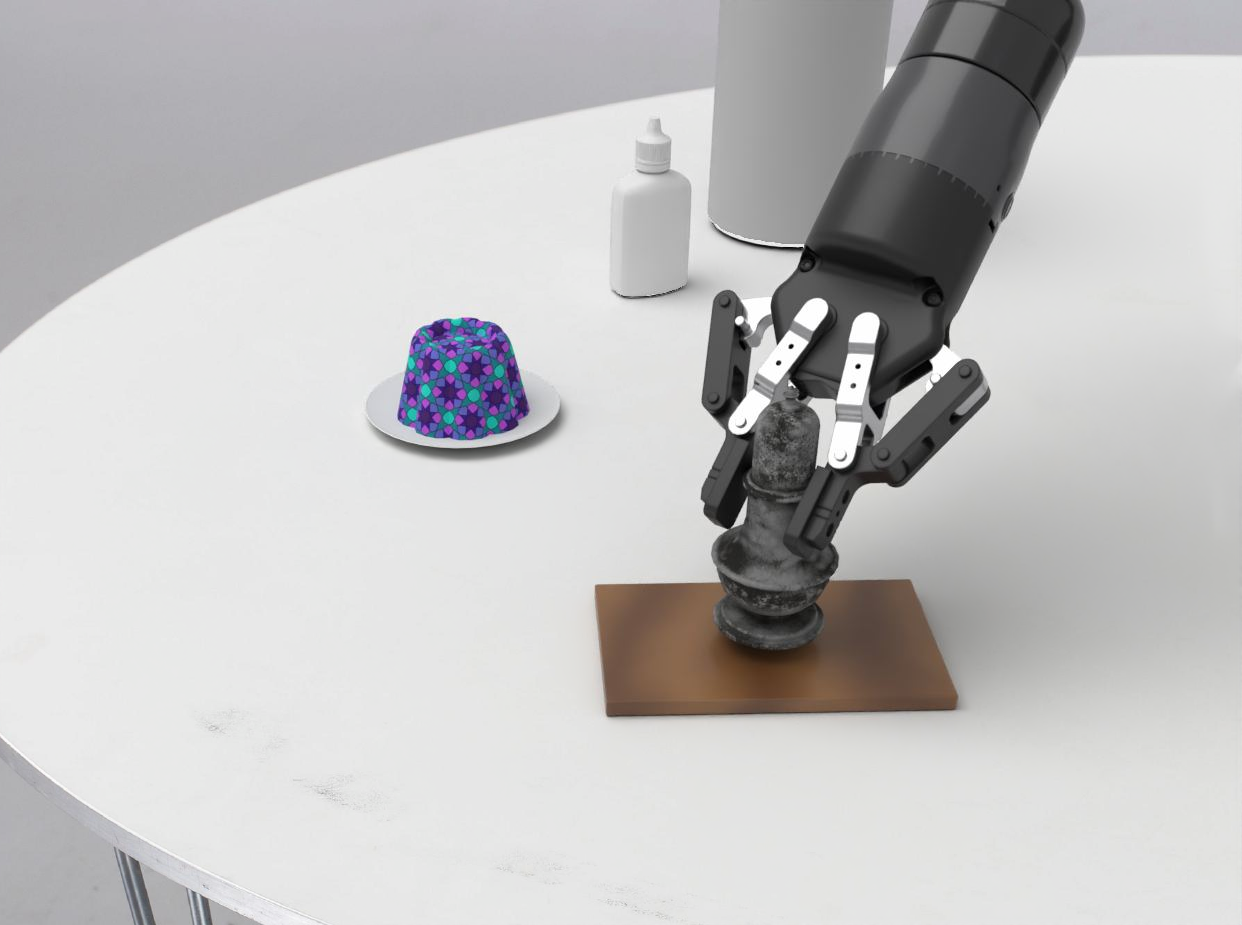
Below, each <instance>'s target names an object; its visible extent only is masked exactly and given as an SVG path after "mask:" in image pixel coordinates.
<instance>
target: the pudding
mask: <svg viewBox="0 0 1242 925" xmlns="http://www.w3.org/2000/svg"><path fill="white" fill-rule="evenodd" d="M560 407H561V398H560V395H559V393H558V391H557V390H556V388H555V387H554V385H552V384H551V383H550V382H549V381H548V380H545V379H544V378H542V377H541V376H540V375H537V374H535V373H532V372H531V371H528V370H525V369H522V368H519V366H518V363H517V358H516V355H515V351H514V347H513V344H512V342H511V340H510V337H509V336H508V334H507V333H505V331H504V330H503V328H502V327H501V326H500V325H499V324H497V323H495V322H493V321H489V320H488V321H485V320H480V319H479V318H476V317H471V316H463V317H462V316H461V317H459V318H449V317H447V318H441V319H437V320H434V321H433V322H432V323H431V324H427V325H423V326H421V327H420V328H418V329H417V330H416V331H415V332H414V334H413V336H412V337H411V341H410V345H409V351H408V356H407V362H406V367H405V371H402V372H399V373H397V374H395V375H392V376H390V377H388V378H387V379H385V380H383V381H381V382H380V383H378V384H377V385H376V386H375V387H374V388H373V389H372V390H371V391H370V392H369V393H368V395H367V397H366V399H365V401H364V412H365V415H366V418H367V419H368V421H369V422H370V423H371V424H372V425H373V426H374V427H375V428H377V429H378V430H379V431H381V432H382V433H384V434H386V435H388V436H391V437H392V438H395V439H398V440H401V441H403V442H406V443H410V444H415V445H419V446H425V447H431V448H433V447H434V448H445V449H470V448H471V449H474V448H475V449H476V448H482V447H490V446H491V447H493V446H496V445H502V444H505V443H506V444H507V443H510V442H514V441H516V440H520V439H523V438H525V437H527V436H530V435H532V434H534V433H536V432H538V431H540V430H542V429H543V428H544V427H546V426H548V424H550V423H551V422H552V421H553V420H554V419H555V418H556V416H557V415H558V413H559V411H560Z"/></svg>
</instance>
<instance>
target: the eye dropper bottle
mask: <svg viewBox="0 0 1242 925" xmlns="http://www.w3.org/2000/svg"><path fill="white" fill-rule="evenodd" d="M647 121H648V122H647V125H646V126H647V127H646V130H645V132H644V133H642V134H638V136H637V137H635V151H634V152H635V155H634V156H635V157H634V168H635V170H632V171H631V172H628V173H627V174H625V175H623V176H622V177H621V178H619V179H618V180H617V181H616V182H615V184H614V185H613V186H612V189H611V197H610V199H611V200H610V201H611V202H610V224H609V228H610V229H609V266H608V268H609V270H608V284H609V287H610V289H612V290H613V291H614V292H615V291H616V292H615V293H616V294H618V295H619V294H620V295H619V296H621V295H623V296H647V295H652V294H654V295H655V294H661V293H664V292H669V291H672V290H675V291H677V290H679V289H678V288H679V287H681V288H683V287H685V285H686V284H687V282H688V275H689V274H688V273H689V258H690V257H689V255H690V236H691V219H692V218H691V216H692V192H693V191H692V184H691V182H690V180H689V178H688V177H686V176H685V175H684V174H682V173H681V172H679V171H677V170H674V169H670V168H671V159H672V158H671V157H672V137H670V136H669V135H668V134H665V133H664V132H663V131H662V125H661V118H660V116H658V115H651V116H649V118H648V120H647ZM682 286H683V287H682ZM676 289H677V290H676ZM672 292H673V291H672ZM669 293H670V292H669ZM661 295H662V294H661ZM623 296H622V297H623Z"/></svg>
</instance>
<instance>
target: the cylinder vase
mask: <svg viewBox="0 0 1242 925" xmlns="http://www.w3.org/2000/svg"><path fill="white" fill-rule="evenodd" d="M894 1H895V0H719V9H718V10H719V11H718V24H717V25H718V26H717V42H716V44H717V45H716V59H715V60H716V62H715V74H714V75H715V77H714V95H713V108H712V109H713V111H712V112H713V113H712V128H711V129H712V130H711V145H710V160H709V161H710V163H709V176H708V177H709V178H708V193H707V194H708V195H707V216H708V215H709V216H708V218H709V217H710V219H711V220H712V221H713V222H714V223H715V224H717V225H718V226H719V227H720V228H721V229H723V230H725V231H727V232H730V233H733V234H735V235H740V236H742V237H744V238H748V239H754V240H761V241H765V242H775V243H781V244H805V242H806V239H807V237H808V235H809V233H810V231H811V229H812V227H813V225H814V223H815V221H816V219H817V217H818V215H819V213H820V211H821V209H822V206H823V204H824V202H825V200H826V198H827V196H828V194H829V192H830V190H831V188H832V186H833V184H834V182H835V180H836V178H837V176H838V174H839V172H840V169H841V167H842V165H843V163H844V161H845V159H846V157H847V155H848V153H849V151H850V149H851V147H852V145H853V143H854V141H855V139H856V137H857V135H858V133H859V130H860V128H861V126H862V124H863V122H864V120H865V119H866V117H867V115H868V113H869V111H870V109H871V108H872V106H873V104H874V103H875V101H876V100H877V98H878V97H879V95H880V94H881V92H882V91H883V89H884V84H885V83H884V82H885V75H886V68H887V67H886V66H887V59H888V50H889V43H890V35H891V34H890V33H891V26H892V17H893V8H894ZM710 219H709V220H710Z"/></svg>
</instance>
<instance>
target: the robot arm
mask: <svg viewBox="0 0 1242 925" xmlns="http://www.w3.org/2000/svg"><path fill="white" fill-rule="evenodd" d="M1085 29H1086V13H1085V8H1084V4H1083V2H1082V0H928V1H927V3H926V5H925V7H924V10H923V12H922V14H921V15H920V18H919V20H918V22H917V23H916V26H915V28H914V30H913V32H912V34H911V36H910V38H909V39H908V40H909V41H908V42H907V44H906V46H905V49H904V50H903V53H902V55H901V57H900V59H899V61H898V62H897V65H896V67H895V69H894V71H893V73H892V75H891V76H890V79H889V80H888V82H887V83H886V85H885V86H884V87H883V91H882V92H881V94H880V95H879V97H878V98H877V100H876V101H875V103H874V104H873V106H872V108H871V109H870V111H869V113H868V115H867V117H866V119H865V120H864V122H863V124H862V126H861V128H860V130H859V133H858V135H857V137H856V139H855V141H854V143H853V145H852V147H851V149H850V151H849V153H848V155H847V157H846V159H845V161H844V163H843V165H842V167H841V169H840V172H839V174H838V176H837V178H836V180H835V182H834V184H833V186H832V188H831V190H830V192H829V194H828V196H827V198H826V200H825V202H824V204H823V206H822V209H821V211H820V213H819V215H818V217H817V219H816V221H815V223H814V225H813V227H812V229H811V231H810V233H809V235H808V237H807V239H806V242H805V244H804V248H802V251H801V255H800V258H799V261H798V264H797V266H796V268H795V269H794V271H793V272H792V274H790V276H789V277H788V278H787V279H786V280H784V281H783V282H782V283H781V284H779V286H777V288H775V290H774V291H773V293H772V295H770V296H761V297H750V298H739V296H738V294H737V293H736V292H735V291H733V290H731V289H724V290H721V291H719V292H718V293H717V294H716V295H715V296H714V298H713V301H712V307H711V316H710V323H709V332H708V342H707V348H706V349H707V350H706V357H705V358H706V359H705V365H704V366H705V367H704V375H703V383H702V390H701V400H700V401H701V405H702V407H703V408H704V409H705V410H706V411H707V413H708V414H709V415H710V416H711V417H712V418H713V419H714V420H715V422H716V423H717V424H718V425H719V427H721V428H722V429H723V430H724V431H725V437H724V441H723V443H722V445H721V447H720V449H719V451H718V454H717V455H716V457H715V459H714V461H713V463H712V465H711V469H710V470H709V472H708V474H707V477H706V478H705V480H704V482H703V484H702V486H701V489H700V500H701V501H702V502H703V503H704V504H703V508H702V512H703V513H702V514H703V515H704V516H705V517H706V518H707V519H708V520H709V521H710V522H711V523H712V524H713V525H715V526H717V527H720V528H722V529H725V530H729V529H731V528H733V526H734V525H735V523H736V521H737V519H738V517H739V515H740V514H741V511H742V509H743V507H744V505H745V503H746V502H747V499H748V491H747V490H746V489H745V487H744V486H743V483H742V478H743V474H744V473H745V472H746V471H747V470H748V469H749V468H751V467H752V461H753V449H754V438H755V426H756V421H757V418H758V415H759V414H760V412H761V411H762V410H763V409H764V408H765V407H767V406H768V405H770V404H773V403H775V402H778V401H782V400H785V399H786V397H785V396H784V395H783V393H784V392H785V391H786V390H787V389H788V388H789V387H790V386H791V385H793V386H794V388H795V389H796V391H797V392H798V393H799V396H798V397H797V398H796V401H798V402H801V403H804V404H805V405H807V406H809V403H810V402H811V401H812V400H813V399H817V400H818V399H819V400H820V399H821V400H822V399H823V400H833V401H835V405H834V412H835V422H834V427H833V430H832V435H831V438H830V443H829V447H828V450H827V456H826V457H827V458H826V459H827V462H826V464H825V466H821V465H817V464H816V468H815V471H814V473H813V475H812V478H811V480H810V482H809V484H808V486H807V488H806V490H805V492H804V494H803V496H802V498H801V500H800V502H799V504H798V507H797V509H796V511H795V513H794V515H793V517H792V519H791V521H790V523H789V525H788V527H787V529H786V531H785V534H784V537H783V544H784V546H785V547H786V548H787V549H788V550H789V551H790V552H791V553H792V554H794V555H796V556H799V557H802V558H804V559H809V558H810V557H811V556H812V555H813V553H814V551H815V549H818V550H821V551H823V550H824V549H825V548H826V547H827V546H828V545H829V544H830V543H832V541H833V539H834V537H835V535H836V533H837V530H838V529H839V527H840V525H841V522H842V520H843V518H844V516H845V514H846V512H847V510H848V508H849V506H850V504H851V502H852V500H853V498H854V496H855V494H856V492H857V491H858V490H859V489H860V488H861V487H864V486H866V485H869V484H886V485H887V486H889V487H891V488H895V489H896V488H901V487H904V486H905V485H906V484H908V482H909V481H910V480H912V478H913V477H915V476H916V475H917V473H919V472H920V471H921V469H922V468H923V467H924V466H926V465H927V464H928V463H929V462H930V460H931V459H932V458H933V457H934V456H935V455H936V454H938V452H940V450H941V449H942V448H943V447H945V446H946V444H947V443H948V442H949V441H951V439H952V438H953V437H954V436H955V435H956V434H957V433H958V432H960V430H961V429H962V428H963V427H964V426H965V425H966V424H967V423H968V422H969V421H970V420H971V419H972V418H973V417H974V416H975V415H976V414H977V413H978V412H979V411H980V410H981V409H983V407H984V406H985V405H986V404H987V403H988V401H989V400H990V398H991V396H992V391H991V388H990V386H989V383H988V380H987V378H986V376H985V374H984V372H983V370H982V369H981V367H980V365H979V363H978V361H976V360H975V359H972V358H962V357H961V356H960V355H958V354H957V353H956V352H954V351H953V350H952V349H951V339H950V338H951V337H950V331H951V330H950V329H951V324H952V322H953V319H954V318H955V317H956V315H957V314H958V313H959V312H960V309H961V307H962V305H963V303H964V302H965V299H966V297H967V295H968V292H969V290H970V288H971V286H972V284H973V282H974V280H975V278H976V276H977V274H978V272H979V270H980V267H981V265H982V264H983V262H984V260H985V257H986V256H987V253H988V251H989V249H990V247H991V245H992V243H993V241H994V239H995V237H996V235H997V233H998V231H999V228H1000V227H1001V224H1002V222H1004V220H1006V219H1007V218H1008V216H1009V214H1010V212H1011V209H1012V206H1013V203H1014V201H1015V196H1016V193H1017V191H1018V189H1019V187H1020V185H1021V182H1022V180H1023V177H1024V175H1025V172H1026V169H1027V165H1028V163H1029V159H1030V157H1031V153H1032V150H1033V147H1034V145H1035V142H1036V140H1037V137H1038V135H1039V132H1040V130H1041V128H1042V126H1043V124H1044V121H1045V120H1046V117H1047V115H1048V114H1049V111H1050V109H1051V108H1052V106H1053V103H1054V101H1055V99H1056V98H1057V95H1058V93H1059V91H1060V89H1061V87H1062V85H1063V82H1064V81H1065V79H1066V77H1067V75H1068V72H1069V71H1070V69H1071V67H1072V64H1073V62H1074V61H1075V58H1076V56H1077V53H1078V51H1079V49H1080V47H1081V44H1082V41H1083V38H1084V33H1085ZM770 326H773V331H774V337H775V343H776V346H775V348H774V349H773V350H772V352H771V353H770V355H769V356H768V357H767V358H766V360H765V361H764V362H763V363H762V365H761V366H760V368H759V369H758V370H757V371H756V373H755V376H754V379H753V385H752V387H751V388H750V390H749V392H748V386H749V385H748V384H749V376H750V367H751V366H750V365H751V358H752V357H751V356H752V349H753V348H755V349H756V348H758V347H760V345H761V343H762V340H763V338H764V335H765V332H766V331H767V329H768V328H769V327H770ZM929 373H931V374H930V375H929V377H928V378H927V380H926V382H925V385H924V388H925V392H926V393H925V394H924V395H923V396H922V397H921V398H920V399H919V400H918V401H917V402H916V403H915V404H914V405H913V406H912V407H911V408H910V409H909V410H908V411H907V412H906V413H905V414H904V415H903V416H902V417H901V418H900V420H898V421H897V422H896V423H895V424H894V425H893V426H892V427H891V429H889V431H887V433H886V434H885V435H884V430H885V426H886V421H887V417H888V413H889V409H890V405H891V401H892V397H895V395H897V394H898V393H900V392H902V391H903V390H904V389H906V388H908V387H909V386H911V385H913V384H915V383H916V382H917V381H918V380H920V379H921V378H923V377H925V376H926V375H928V374H929ZM883 435H884V436H883Z"/></svg>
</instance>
